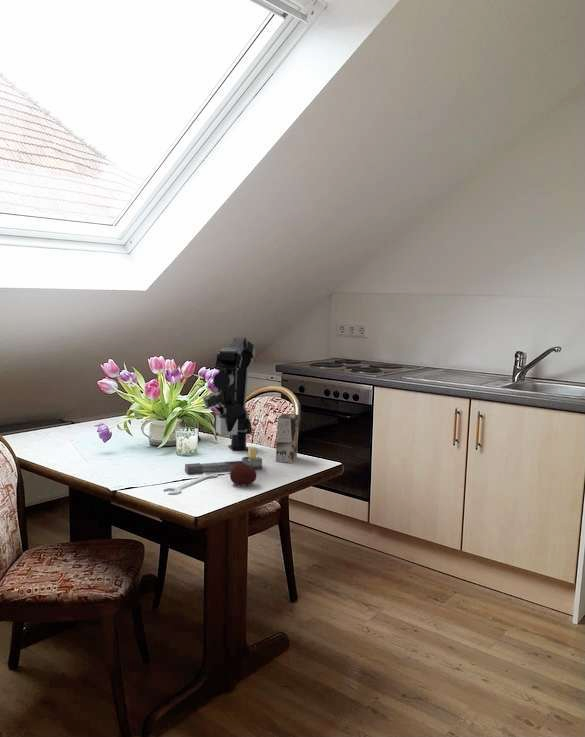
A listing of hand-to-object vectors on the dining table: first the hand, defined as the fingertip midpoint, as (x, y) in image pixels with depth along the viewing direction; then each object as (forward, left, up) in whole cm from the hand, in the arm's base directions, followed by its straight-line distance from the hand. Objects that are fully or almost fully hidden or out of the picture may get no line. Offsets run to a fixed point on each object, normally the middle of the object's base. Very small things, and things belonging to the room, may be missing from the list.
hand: (226, 429), depth 228 cm
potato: (+25, -2, -12) cm, 28 cm away
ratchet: (+8, -3, -12) cm, 15 cm away
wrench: (+19, -17, -13) cm, 29 cm away
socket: (0, 0, -1) cm, 1 cm away
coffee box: (+1, +23, -12) cm, 26 cm away
